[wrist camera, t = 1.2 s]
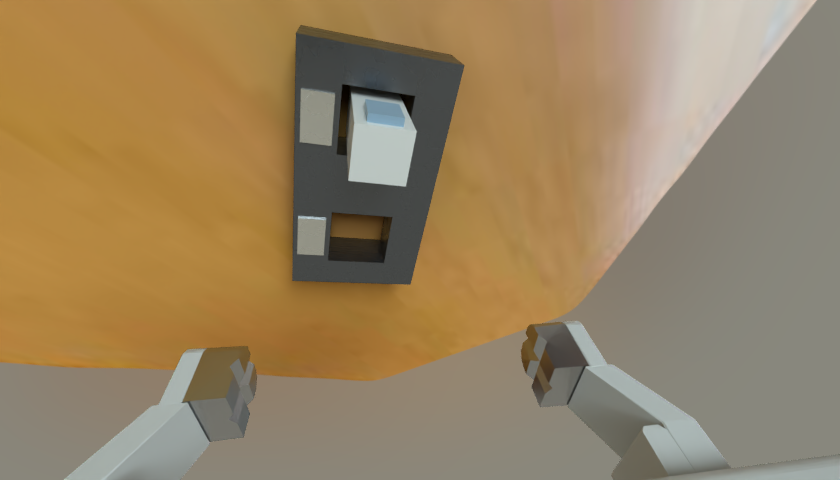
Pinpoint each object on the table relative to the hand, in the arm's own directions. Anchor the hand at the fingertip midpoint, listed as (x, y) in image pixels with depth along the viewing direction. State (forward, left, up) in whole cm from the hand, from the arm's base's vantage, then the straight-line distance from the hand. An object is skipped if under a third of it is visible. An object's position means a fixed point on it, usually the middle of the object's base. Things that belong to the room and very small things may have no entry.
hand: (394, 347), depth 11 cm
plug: (+1, -1, -26) cm, 26 cm away
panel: (+1, -6, -26) cm, 27 cm away
